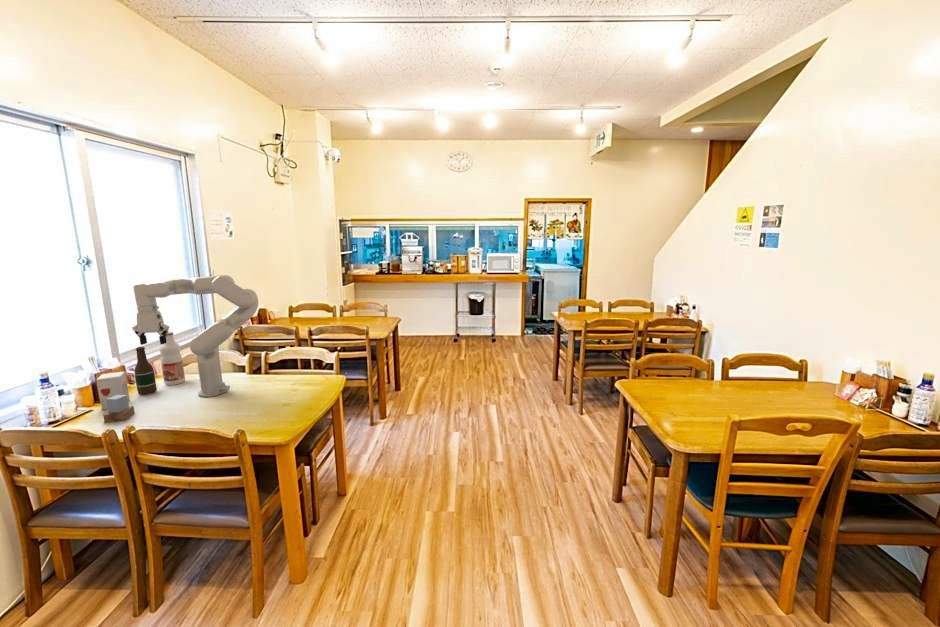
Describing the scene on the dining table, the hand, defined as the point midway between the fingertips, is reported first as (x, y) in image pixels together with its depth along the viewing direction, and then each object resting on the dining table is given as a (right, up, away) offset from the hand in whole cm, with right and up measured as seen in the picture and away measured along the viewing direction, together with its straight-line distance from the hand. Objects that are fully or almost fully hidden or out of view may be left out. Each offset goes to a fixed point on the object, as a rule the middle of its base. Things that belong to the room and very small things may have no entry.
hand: (153, 343), depth 200 cm
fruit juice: (-10, -24, +29) cm, 39 cm away
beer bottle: (-14, -26, +14) cm, 33 cm away
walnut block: (-3, -32, -16) cm, 36 cm away
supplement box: (-17, -29, -1) cm, 34 cm away
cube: (-3, -28, -17) cm, 33 cm away
